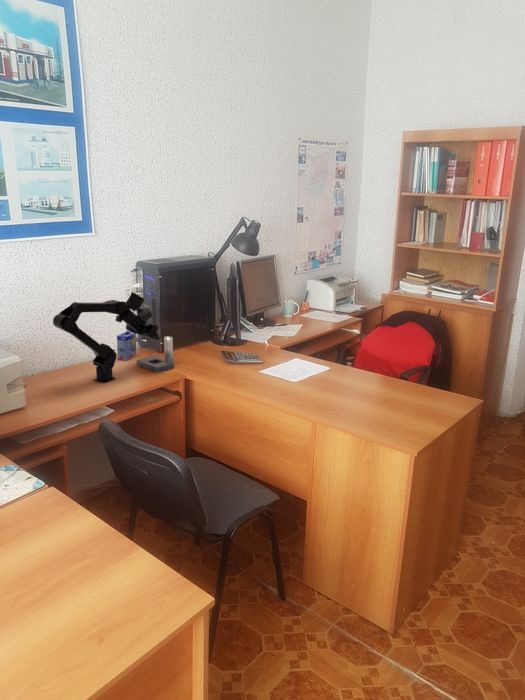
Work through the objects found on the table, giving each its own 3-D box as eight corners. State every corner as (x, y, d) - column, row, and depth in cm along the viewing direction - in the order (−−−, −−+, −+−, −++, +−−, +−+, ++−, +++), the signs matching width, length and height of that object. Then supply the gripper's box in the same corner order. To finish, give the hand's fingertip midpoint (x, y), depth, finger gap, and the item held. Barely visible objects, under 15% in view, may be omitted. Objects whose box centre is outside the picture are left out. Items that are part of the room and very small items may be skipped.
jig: (156, 372, 255) (156, 367, 254) (136, 364, 265) (136, 359, 265) (174, 368, 262) (174, 363, 261) (154, 360, 272) (154, 355, 272)
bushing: (169, 364, 267) (168, 338, 263) (163, 363, 268) (162, 337, 265) (174, 362, 270) (174, 336, 266) (168, 361, 272) (167, 335, 268)
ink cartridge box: (127, 360, 271) (125, 332, 267) (117, 359, 273) (115, 331, 269) (137, 355, 280) (135, 327, 276) (127, 354, 282) (126, 326, 278)
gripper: (153, 307, 245) (174, 326, 256) (129, 301, 257) (150, 319, 268) (139, 328, 242) (162, 346, 253) (116, 321, 254) (138, 338, 265)
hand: (153, 337), depth 260 cm, fingers open, 9 cm apart
